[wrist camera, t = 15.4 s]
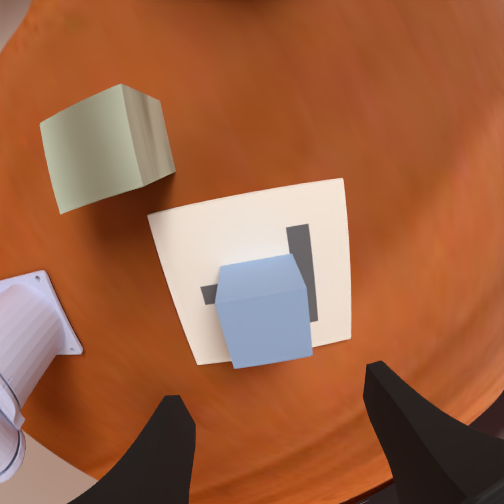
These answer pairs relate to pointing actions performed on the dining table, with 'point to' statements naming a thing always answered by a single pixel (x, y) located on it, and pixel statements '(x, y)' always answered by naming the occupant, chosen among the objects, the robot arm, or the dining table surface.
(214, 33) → the dining table surface
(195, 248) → the letter card
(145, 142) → the green block
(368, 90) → the dining table surface
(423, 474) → the robot arm
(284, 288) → the blue cube
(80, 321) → the dining table surface
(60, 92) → the dining table surface
